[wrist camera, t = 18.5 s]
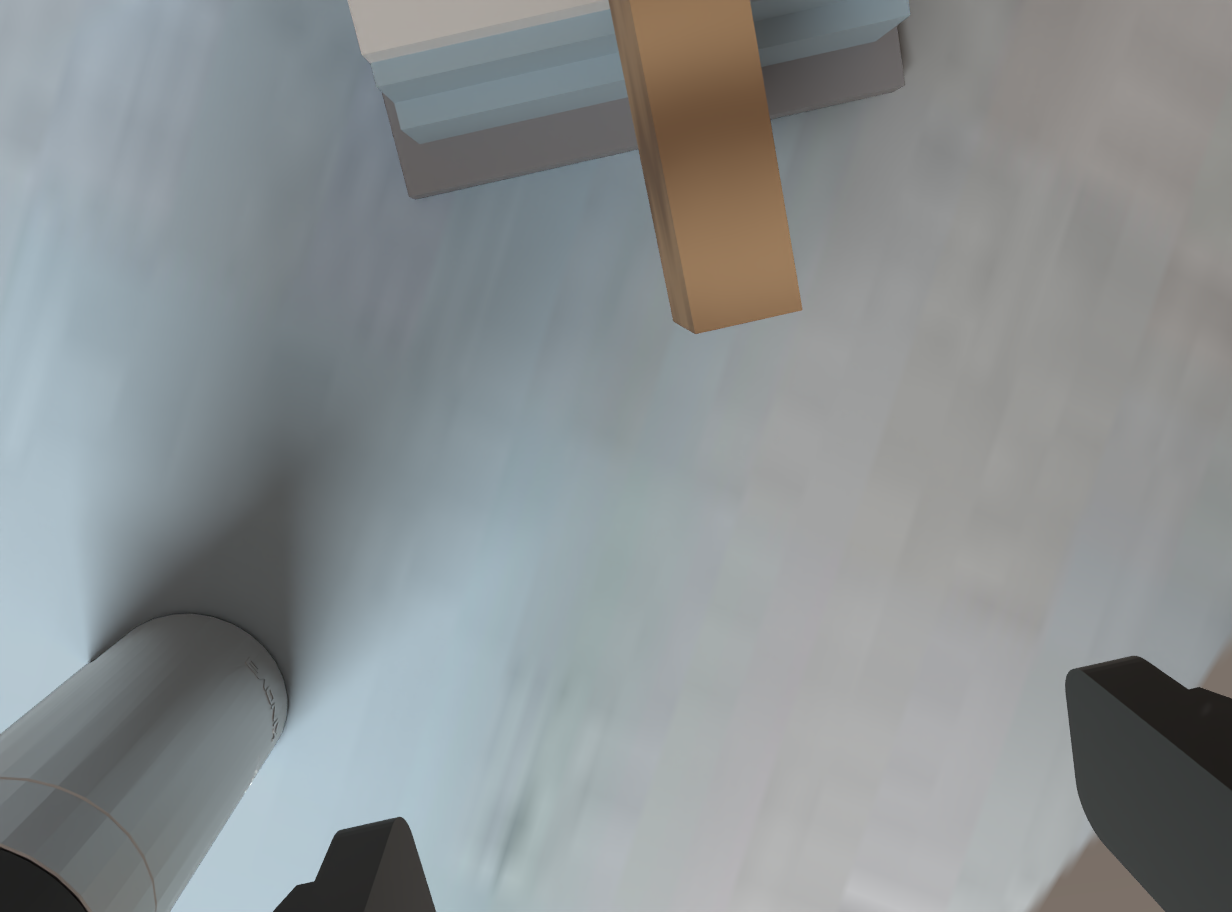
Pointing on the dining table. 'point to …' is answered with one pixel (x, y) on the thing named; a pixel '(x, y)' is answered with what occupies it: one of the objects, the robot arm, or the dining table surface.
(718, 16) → the walnut plank
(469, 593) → the dining table surface
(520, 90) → the fulcrum ridge
